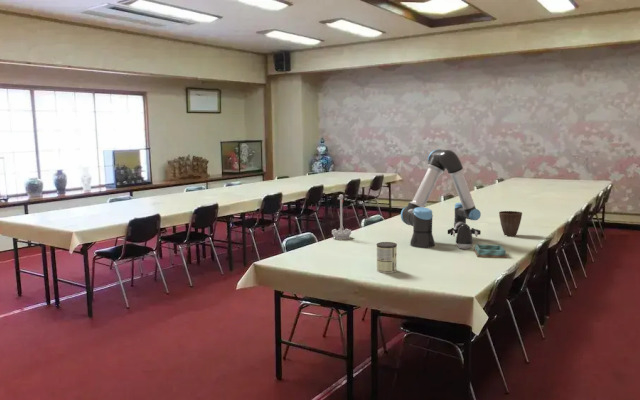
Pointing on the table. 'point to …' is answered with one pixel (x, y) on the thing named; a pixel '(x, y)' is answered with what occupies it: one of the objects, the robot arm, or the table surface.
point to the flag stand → (341, 233)
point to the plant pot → (510, 222)
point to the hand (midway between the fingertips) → (465, 234)
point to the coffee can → (386, 257)
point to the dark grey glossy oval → (464, 237)
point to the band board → (490, 251)
